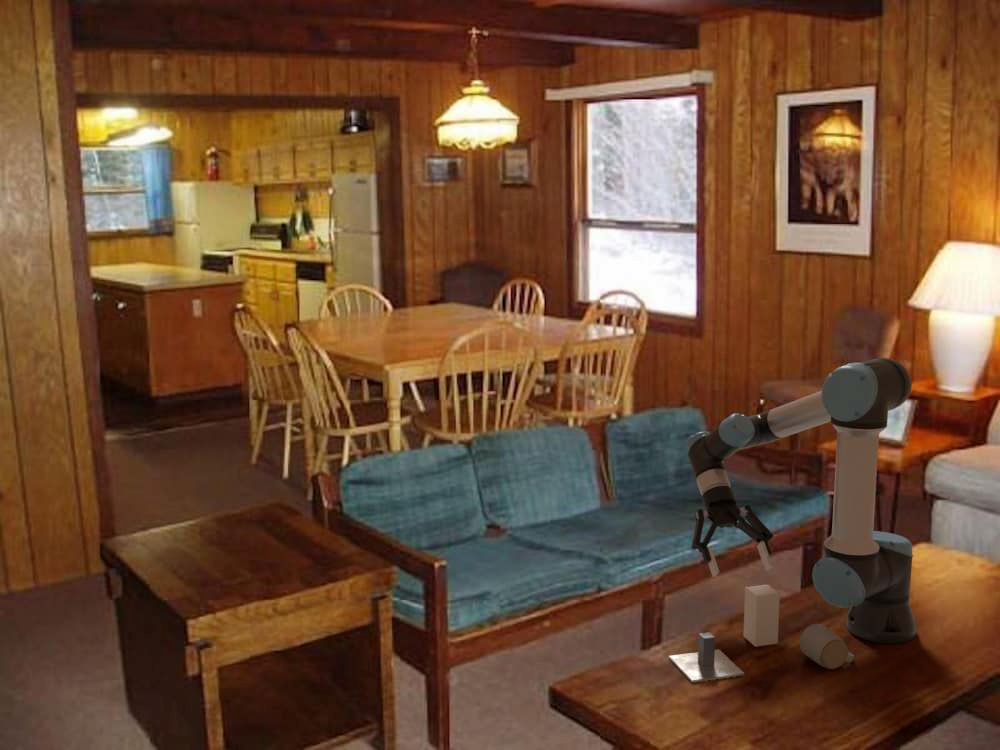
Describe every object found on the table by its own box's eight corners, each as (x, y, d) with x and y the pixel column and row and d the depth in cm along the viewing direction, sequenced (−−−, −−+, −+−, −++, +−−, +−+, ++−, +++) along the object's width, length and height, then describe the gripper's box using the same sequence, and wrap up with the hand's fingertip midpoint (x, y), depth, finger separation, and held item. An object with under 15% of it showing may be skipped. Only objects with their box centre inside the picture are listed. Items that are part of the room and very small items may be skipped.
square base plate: (719, 651, 236) (719, 621, 234) (744, 675, 224) (745, 643, 223) (668, 658, 233) (669, 627, 232) (692, 683, 221) (692, 650, 220)
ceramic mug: (820, 674, 225) (823, 640, 224) (797, 658, 233) (799, 625, 231) (862, 666, 228) (864, 633, 227) (838, 651, 236) (840, 618, 235)
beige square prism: (765, 633, 245) (767, 584, 243) (777, 643, 240) (779, 593, 237) (743, 636, 244) (745, 587, 241) (755, 646, 238) (756, 596, 236)
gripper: (757, 494, 265) (784, 573, 254) (664, 503, 259) (688, 583, 247) (768, 480, 259) (797, 559, 247) (673, 488, 253) (698, 570, 241)
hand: (742, 571), depth 247 cm, fingers open, 13 cm apart
